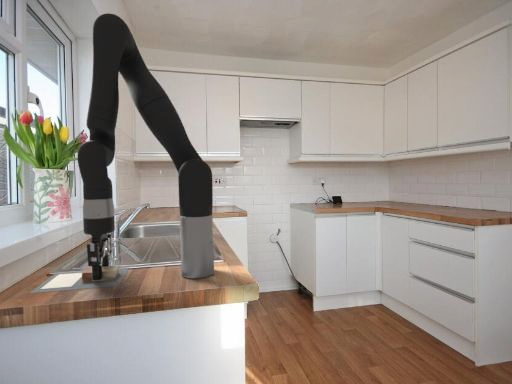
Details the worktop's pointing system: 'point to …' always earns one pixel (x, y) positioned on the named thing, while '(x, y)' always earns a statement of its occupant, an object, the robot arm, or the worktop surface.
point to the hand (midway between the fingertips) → (101, 275)
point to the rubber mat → (76, 282)
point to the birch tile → (107, 273)
